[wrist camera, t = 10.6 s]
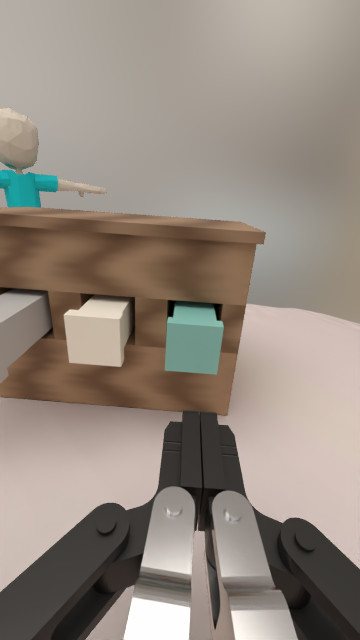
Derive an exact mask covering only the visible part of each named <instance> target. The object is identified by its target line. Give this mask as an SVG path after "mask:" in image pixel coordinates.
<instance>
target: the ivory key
mask: <svg viewBox="0 0 360 640" xmlns="http://www.w3.org/2000/svg"><path fill="white" fill-rule="evenodd" d="M64 323H65V331H66V340H67V348H68V357H69V363H78V364H91V365H103V366H116V367H121V366H122V363H123V361H124V347H125V345H126V342H127V340H128V338H129V336H130V334H131V332H132V330H133V328H134V326H135V297H126V296H113V295H99V294H95V295H94V296H93V297H92V298H90V299H89V300H88V301H87V302H86V303H85V304H84V305H83V306H82V307H81V308H80V309H79V310H71V309H70V310H69V311H67V312H66V313H65V314H64Z"/></svg>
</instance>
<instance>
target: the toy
mask: <svg viewBox="0 0 360 640" xmlns="http://www.w3.org/2000/svg"><path fill="white" fill-rule="evenodd" d="M38 145H39V142H38V132H37V128H36V127H35V125H34V124H33V123H32V121H31V120H29V119H28V117H26V116H23V115H21V114H18V113H16V112H15V111H13V109H11V108H5V109H0V162H2V163H3V164H5V165H6V166H8V167H9V168H11V169H16V173H15V172H14V171H12V170H2V171H0V188H3V189H4V190H5V195H6V200H7V205H8V207H37V208H41V203H40V197H39V191H46V192H56V191H78V192H79V195H80V196H81V197H83V194H84V192H87V193H95V194H105V193H107V191H106V189H104V188H101V187H94V186H90V185H87V184H79V183H74V182H69V181H66V180H61V179H57V176H51V175H39V174H34V173H30V172H28V173H27V174H25V175H24V174H23V173H22V169H25V168H28V167H31V166H33V165H34V164H35V162H36V161H37V153H38Z"/></svg>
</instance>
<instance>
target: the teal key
mask: <svg viewBox="0 0 360 640" xmlns="http://www.w3.org/2000/svg"><path fill="white" fill-rule="evenodd" d="M223 329H224V326H223V322H222V321H217V320H216V315H215V310H214V305H213V303H206V302H192V301H179V300H176V303H175V309H174V315H173V317H168V321H167V334H166V354H165V371H177V372H190V373H202V374H215V375H217V371H218V364H219V357H220V350H221V343H222V336H223Z"/></svg>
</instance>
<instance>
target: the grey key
mask: <svg viewBox="0 0 360 640" xmlns="http://www.w3.org/2000/svg"><path fill="white" fill-rule="evenodd" d="M51 328H53V324H52V317H51V310H50V303H49V295H48V291H46V290H33V289H20V288H14V289H12V290H10V291H8V292H6V293H4V294H2V295H0V383H1V382H2V381H3V380H5V379H6V378H7V377H8V376H9V375H8V371H7V368H8V367H9V366H10V365H11V364H12V363H13V362H14V361H16V360H17V359H18V358H19V357H20V356H21V355H22V354H23V353H25V352H26V351H27V350H28V349H29V348H30V347H31V346H32V345H33V344H35V343H36V342H37V341H38V340H39V339H40V338H41V337H42V336H44V335H45V334H46V333H47V332H48V331H49V330H50V329H51Z"/></svg>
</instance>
